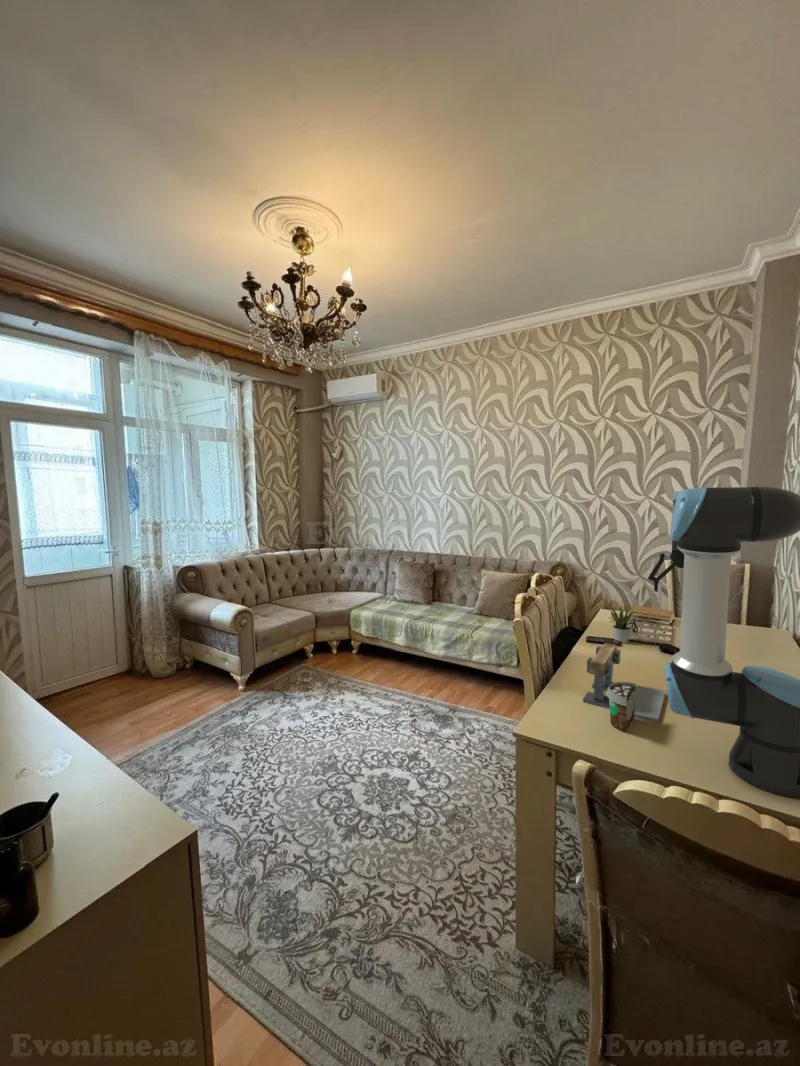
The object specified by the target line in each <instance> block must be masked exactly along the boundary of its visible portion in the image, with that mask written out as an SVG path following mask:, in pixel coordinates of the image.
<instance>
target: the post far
mask: <svg viewBox="0 0 800 1066" xmlns="http://www.w3.org/2000/svg"><path fill="white" fill-rule="evenodd" d="M601 648H602V646H599V645H598V646H596V648H595V655H596V654H597V653H598V652H599V650H600V649H601ZM620 663H621V650H620V649H617V651H616V652H615V659H614V660H613V665H620ZM612 683H616V682H615V681H613V676H612V677H606V676H605V692H607V690H608V687H609V685H610V684H612ZM591 688H592V689H594V682H593V683H592V685H591Z"/></svg>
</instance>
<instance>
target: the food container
mask: <svg viewBox="0 0 800 1066" xmlns="http://www.w3.org/2000/svg"><path fill="white" fill-rule="evenodd" d="M636 686H637V684H636V683H634V682H629V681H616V682H615V683H612V684H610V685H609V687H608V690H607V691H606V695H605V696H607V697H608V698H609V703H610V709H609V714H610V715H609V717H610V725H611V726H612V727H613V728H615V729H616V730H618V731H619V732H622V733H625V734H627V733H628V731H629V730H630V728H631V726H632V724H633V722H634V720H635V717H634V716H635V695H636Z"/></svg>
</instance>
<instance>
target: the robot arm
mask: <svg viewBox="0 0 800 1066" xmlns="http://www.w3.org/2000/svg"><path fill="white" fill-rule="evenodd" d="M672 504H673V505H672V516H671V521H670V530H669V538H670V540H671V553H665V552H661V553H660V554H659V555H660V556H659V560H658V561H657V563H656V564H655V566H654V568H653V569H652V571H651V573H650V574H649V575H648V577H647V580H649V581H652V582H653V583H654V584H653V590H654V593H655V592H657V603H661V602H662V594H663V593H662V590H663V589H662V588H663V587H662V585H663V582H662V581H661V580H662V579H663V578H664V577H665V576H667V574H668V573H669V572H671V571H672V570H673V569H675V567H677V568H678V569H683V576H682V599H681V617H680V618H681V619H680V621H681V623H680V640H679V642H680V643H679V644H680V645H679V651H678V652H675V653H673V655H672V656H671V662H665V663H664V672H665V679H666V680H665V681H666V689H667V697H668V704H669V708H670V710H671V711H672V712H673V713H675V714H677V715H680V716H684V717H688V718H689V717H690V718H691V719H700V720H704V721H709V722H714V723H715V722H716V723H721V724H726V725H733V726H738V727H739V734H738V736H737V737H736V739H735V741H734V744H733V745H732V747H731V748H730V751H729V754H728V766H729V768H730V769H731V771H732V772H733V773H734V774H736V776H737V777H739V778H741V779H742V780H743V781H745V782H746V783H748V784H750V785H752V786H754V787H756V788H759V789H761V790H764V791H765V792H769V793H772V794H776V795H778V796H779V795H780V796H785V797H789V798H796V799H797V798H799V799H800V679H798V678H796V677H794V676H792V675H791V674H787V673H786V672H782V671H779V670H776V669H773V668H769V667H766V666H759V665H746V666H744V667H743V669H741V672H736V671H735V672H733V666H732V664H731V663H730V662H729V661H728V660H727V659H726V645H727V644H726V642H727V630H728V629H727V628H728V627H727V626H728V612H729V611H728V610H729V600H730V599H729V598H730V597H729V596H730V582H731V565H732V558H733V557H734V556H736V555H737V554H739V553H741V551H742V543H743V542H744V543H745V542H747V543H749V542H751V543H754V542H755V543H756V542H761V543H763V542H764V543H765V542H773V541H778V540H782V539H785V538H786V539H787V538H789V537H791V536H793V535H795V534H797V533H798V532H800V494H798V493H796V492H794V491H791V490H788V489H785V488H780V487H773V486H743V487H742V486H736V487H734V486H732V487H729V486H728V487H727V486H725V487H724V486H723V487H710V486H709V487H705V486H704V487H696V488H695V487H694V488H692V487H691V488H687V489H683V490H678V491H674V494H673V499H672ZM668 558H669V559H670V561H672V563H671V564H670V565H668V567H666V568H665V569H664V571H662V572H661V573H660V574H659V575H658V576H657V577H655V576H656V574H657V573H658V571H659V570H660V569H661V566H662V565H663V563H664V562H665V561H667V560H668Z"/></svg>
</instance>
